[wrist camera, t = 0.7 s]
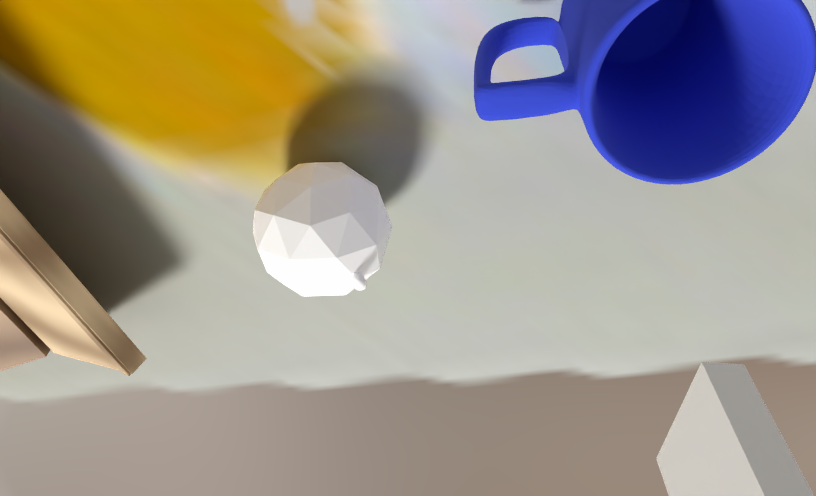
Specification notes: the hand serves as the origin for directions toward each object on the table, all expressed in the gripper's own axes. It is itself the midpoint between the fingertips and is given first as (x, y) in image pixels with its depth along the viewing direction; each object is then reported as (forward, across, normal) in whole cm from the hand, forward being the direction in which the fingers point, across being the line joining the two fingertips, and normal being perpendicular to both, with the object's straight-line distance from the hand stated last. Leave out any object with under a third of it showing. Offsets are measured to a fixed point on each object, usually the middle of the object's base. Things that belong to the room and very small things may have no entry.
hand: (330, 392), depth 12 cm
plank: (+23, -20, -14) cm, 33 cm away
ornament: (+25, -2, -12) cm, 28 cm away
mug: (+25, +10, 0) cm, 27 cm away
